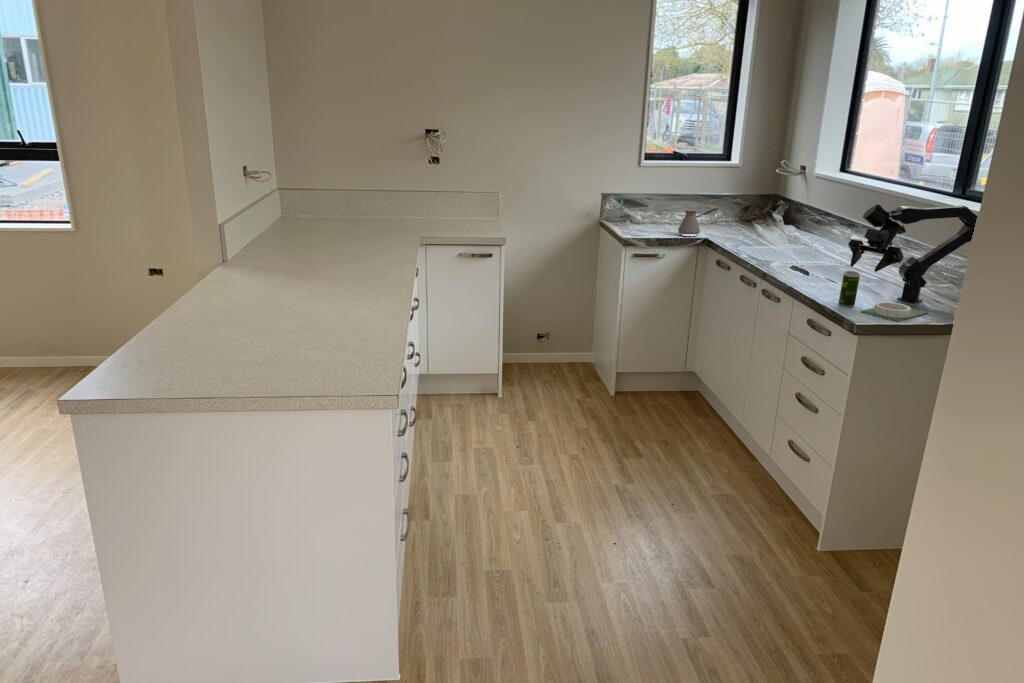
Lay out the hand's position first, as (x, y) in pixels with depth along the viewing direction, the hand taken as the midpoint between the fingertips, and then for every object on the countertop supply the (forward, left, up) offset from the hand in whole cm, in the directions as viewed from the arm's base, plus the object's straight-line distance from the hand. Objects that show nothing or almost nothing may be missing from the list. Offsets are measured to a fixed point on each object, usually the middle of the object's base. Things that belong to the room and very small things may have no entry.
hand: (862, 268), depth 261 cm
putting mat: (+1, +15, -13) cm, 19 cm away
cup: (+4, +15, -13) cm, 20 cm away
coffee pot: (-51, -123, -13) cm, 134 cm away
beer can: (+7, 0, -13) cm, 15 cm away
